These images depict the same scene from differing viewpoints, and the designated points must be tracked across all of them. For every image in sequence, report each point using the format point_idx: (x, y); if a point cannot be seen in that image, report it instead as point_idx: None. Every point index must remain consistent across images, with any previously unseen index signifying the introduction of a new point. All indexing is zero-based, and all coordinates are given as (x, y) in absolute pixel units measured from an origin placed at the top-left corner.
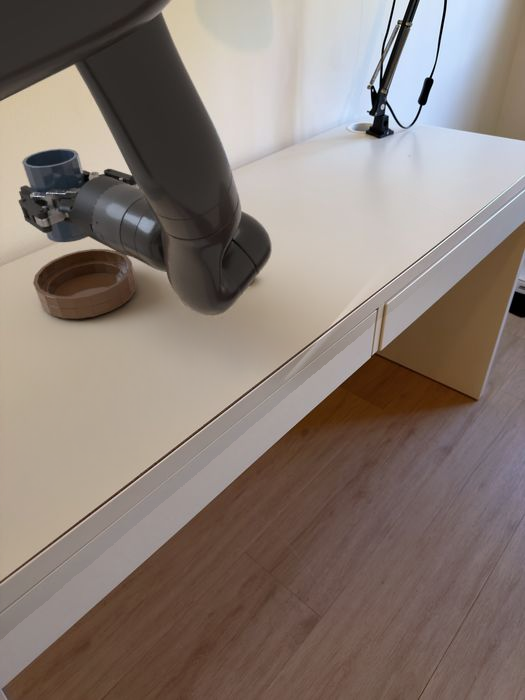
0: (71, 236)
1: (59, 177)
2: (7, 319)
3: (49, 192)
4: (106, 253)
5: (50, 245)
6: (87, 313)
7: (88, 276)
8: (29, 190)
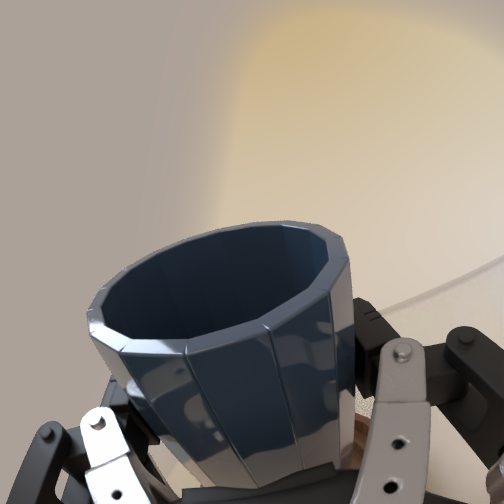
0: None
1: (178, 412)
2: (170, 478)
3: (94, 480)
4: (364, 426)
5: None
6: None
7: None
8: None
